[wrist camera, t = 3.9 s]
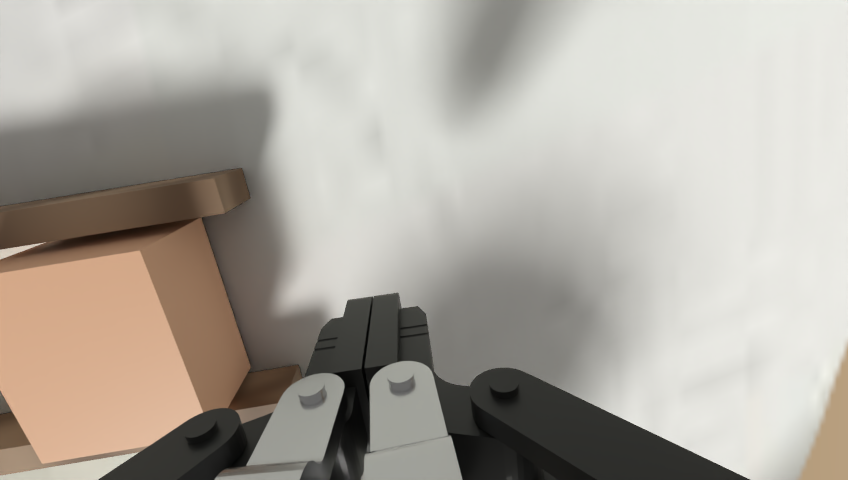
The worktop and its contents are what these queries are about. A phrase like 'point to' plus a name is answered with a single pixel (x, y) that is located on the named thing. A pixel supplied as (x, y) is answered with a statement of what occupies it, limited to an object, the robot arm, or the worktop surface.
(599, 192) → the worktop surface
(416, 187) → the worktop surface
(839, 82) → the worktop surface
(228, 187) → the walnut chute
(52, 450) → the terracotta block
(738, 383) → the worktop surface
